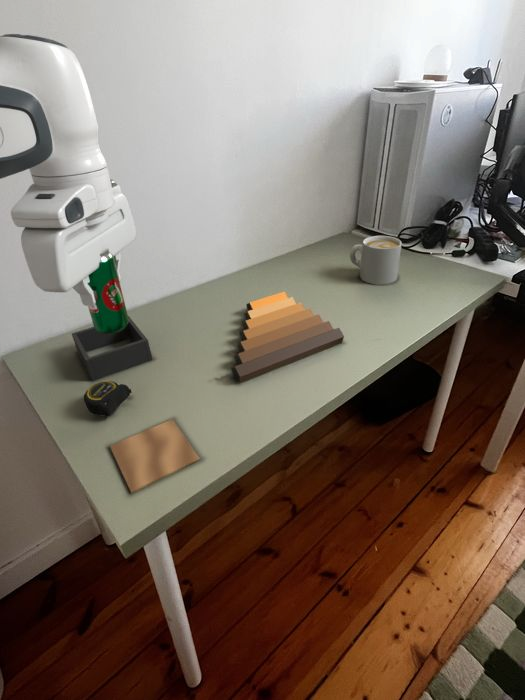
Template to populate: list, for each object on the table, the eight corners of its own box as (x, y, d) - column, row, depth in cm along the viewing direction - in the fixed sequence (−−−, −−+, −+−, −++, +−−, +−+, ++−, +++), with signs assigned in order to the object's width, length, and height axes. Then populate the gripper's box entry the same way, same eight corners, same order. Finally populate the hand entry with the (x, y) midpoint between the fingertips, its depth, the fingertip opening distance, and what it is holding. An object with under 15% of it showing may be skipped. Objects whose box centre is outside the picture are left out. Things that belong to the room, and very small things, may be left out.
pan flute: (240, 385, 83) (343, 344, 93) (239, 371, 81) (344, 331, 91) (190, 330, 101) (281, 301, 111) (188, 317, 99) (280, 289, 109)
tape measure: (110, 423, 76) (105, 406, 74) (79, 414, 78) (73, 398, 76) (134, 399, 81) (129, 383, 79) (104, 391, 83) (99, 376, 81)
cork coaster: (131, 493, 63) (130, 491, 63) (110, 447, 71) (109, 445, 71) (199, 460, 68) (199, 458, 67) (172, 420, 75) (172, 418, 75)
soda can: (93, 323, 66) (71, 248, 60) (126, 315, 68) (108, 241, 61) (97, 338, 62) (74, 260, 56) (132, 330, 64) (114, 252, 58)
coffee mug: (403, 275, 120) (408, 240, 114) (385, 288, 114) (389, 251, 108) (362, 264, 128) (364, 231, 122) (342, 275, 122) (344, 241, 116)
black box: (92, 381, 86) (85, 360, 83) (77, 352, 95) (71, 333, 92) (152, 359, 92) (147, 339, 89) (133, 334, 101) (128, 315, 98)
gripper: (96, 176, 64) (117, 264, 71) (-1, 216, 47) (40, 326, 55) (136, 176, 62) (153, 266, 70) (50, 218, 46) (85, 330, 53)
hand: (103, 293), depth 62 cm, fingers closed on soda can, 5 cm apart
